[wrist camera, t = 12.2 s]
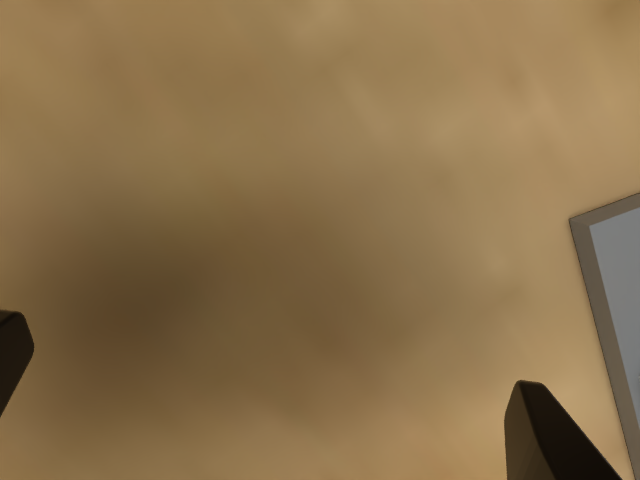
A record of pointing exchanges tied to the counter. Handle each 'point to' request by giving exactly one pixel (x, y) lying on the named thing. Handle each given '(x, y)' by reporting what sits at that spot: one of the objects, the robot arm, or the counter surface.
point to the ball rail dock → (616, 302)
